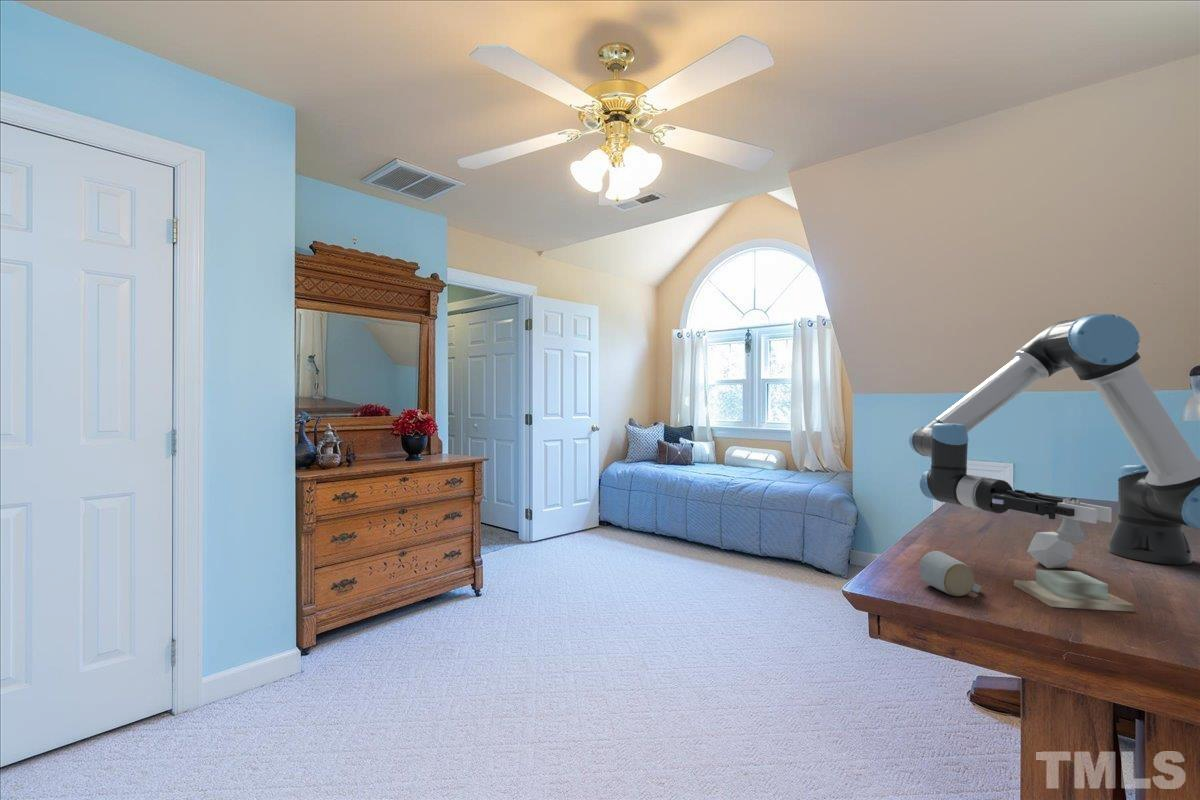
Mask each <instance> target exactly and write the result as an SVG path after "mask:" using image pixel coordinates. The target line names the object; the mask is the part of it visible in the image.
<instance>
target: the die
mask: <svg viewBox="0 0 1200 800" xmlns="http://www.w3.org/2000/svg"><path fill="white" fill-rule="evenodd" d="M1056 535H1058V532H1057V531H1056V532H1055V531H1040V532H1039V531H1038V532H1035V534H1034V536H1033V539H1032V540H1031V542H1030V545H1029V546H1028V549H1027V551H1026V552H1027V553H1028V554H1029V555H1031V557H1032V558H1034V559H1035V561H1037V562H1038V563H1039V564H1041V565H1042V566H1043V567H1045V568H1047V569H1057V568H1059V569H1060V568H1066V567H1067V566H1068V564H1069V563H1070V562H1071V560H1072V558H1073V556H1074V553H1075V550H1076V547H1075V546H1074V545H1073V544H1072V542H1067V541H1063V540H1060V539H1058V537H1057V536H1056Z"/></svg>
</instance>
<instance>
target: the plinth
mask: <svg viewBox="0 0 1200 800" xmlns="http://www.w3.org/2000/svg"><path fill="white" fill-rule="evenodd" d="M1013 586H1014V587H1015V588H1017V589H1019V590H1021V591H1022V592H1024V593H1026V594H1027V595H1029V596H1031V597H1032V598H1035V599H1036V600H1038V601H1040V602H1042V603H1044V604H1045V605H1047V606H1049V607H1050V608H1064V609H1066V608H1067V609H1081V610H1084V609H1085V610H1098V611H1099V610H1103V611H1115V612H1116V611H1119V612H1135V605H1134V604H1133V603H1131V602H1128V601H1126V600H1125V599H1122V598H1120V597H1118V596H1115V595H1113V594H1111V593H1109V584H1108V583H1106V582H1103V581H1101V580H1099V579H1096V578H1094V577H1093V576H1089V575H1088V574H1086V573H1083V572H1081V571H1075V570H1074V571H1072V570H1055V569H1054V570H1053V569H1035V580H1019V579H1013Z"/></svg>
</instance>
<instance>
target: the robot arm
mask: <svg viewBox="0 0 1200 800" xmlns="http://www.w3.org/2000/svg"><path fill="white" fill-rule="evenodd" d="M1140 342H1141V337H1140V334H1139V331H1138V329H1137V327H1136V326H1135V325H1134V324H1133V323H1132V322H1131V321H1129V320H1128V319H1127V318H1125V317H1123V316H1120V315H1117V314H1114V313H1113V314H1112V313H1094V314H1092V313H1091V314H1089V315H1088V314H1087V315H1085V316H1082V317H1076V318H1073V319H1067V320H1063V321H1058V322H1056V323H1054V324H1052V325H1049V326H1048V327H1047V328H1045V329H1043V330H1042V331H1041V332H1039V333H1038V334H1037V335H1035V336H1034V337H1033V338H1031V339H1030V340H1029V341H1028V342H1026V343H1025V344H1024V345H1023V346H1021V347H1020V348H1019V349H1018V350H1017V351H1015V352H1014V354H1013V359H1011V360H1010V361H1009V362H1007V363H1006V364H1005V365H1004V366H1003V367H1001V368H1000V369H998V370H997V371H996V372H994V373H993V374H992V375H991V376H989V377H988V378H987V379H985V380H984V381H983V382H982V383H980V384H979V385H978V386H977V387H976V386H975V388H973V389H972V390H971V391H970V392H969V393H967V394H966V395H965V396H963V397H962V398H961V399H960V400H958V401H957V402H956V403H954V404H953V405H952V406H950V407H949V408H947V410H945V411H944V412H943V413H941V414H940V415H939V416H937V417H936V418H935V419H934V420H932V421H930V422H929V423H928V424H926V426H921V427H918V428H916V429H914V430H913V431H912V432H910V435H909V438H908V444H909V446H910V448H911V450H913V452H915V453H917V454H918V455H920V456H923V457H929V458H931V460H930V461H931V464H930V469H928V470H926V471H924V472H923V473H922V475H921V478H920V479H919V489H920V491H921V493H922V494H923V496H925V497H926V498H928V499H932V500H935V501H938V502H939V503H940V502H941V503H946V504H952V505H957V506H962V507H967V508H970V509H971V511H974V512H975V511H977V510H981V511H984V512H988V513H989V512H990V513H994V514H1003V513H1006V512H1008V510H1013V511H1018V512H1023V513H1029V514H1034V515H1039V516H1042V517H1043V516H1046V515H1047V516H1048V519H1049V520H1055V519H1056V516H1057V517H1059V518H1062V519H1063V518H1068V519H1073V520H1078V521H1080V522H1084V523H1090V524H1097V523H1098V521H1099V522H1104V523H1112V516H1113V515H1112V513H1113V512H1112V511H1113V509H1112V507H1107V506H1103V505H1096V504H1091V503H1090V504H1089V503H1085V502H1080V504H1081V505H1082V506H1077V505H1071V504H1066V503H1062V502H1063V499H1067V498H1064V497H1060V496H1059V497H1058V496H1055V495H1054V496H1053V495H1048V494H1043V493H1039V492H1028V491H1025V490H1022V489H1013V487H1012V486H1011V484H1010V483H1009V482H1008V481H1006V480H1003V479H997V478H992V477H991V478H990V477H986V476H980V475H979V476H978V475H974V474H968V448H969V447H968V442H969V437H968V436H969V435H968V434H969V432H971V431H972V430H974V428H976V427H977V426H979V425H980V424H981V423H983V422H984V421H985V420H987V419H988V418H989V417H991V416H992V415H994V413H996V412H997V411H999V410H1000V409H1001V408H1002V407H1004V406H1005V405H1007V404H1008V403H1009V402H1010V401H1013V399H1015V398H1016V397H1017V396H1019V395H1020V394H1021V393H1022V392H1024V391H1025V390H1027V389H1028V388H1030V386H1032V385H1033V384H1035V383H1036V382H1037V381H1039V380H1040V381H1041V380H1042V381H1044V380H1047V379H1048V378H1049V377H1052V376H1053V375H1054V374H1056V373H1057V372H1060V371H1062V370H1064V369H1069V368H1071V369H1072V370H1073V372H1074V373H1075V374H1076V376H1077V377H1078V379H1079V380H1080V381H1081V382H1083V383H1088V384H1091V385H1092V386H1093V388H1094V389H1095V391H1096V392H1097V394H1098V395H1099V397H1100V398H1101V399H1102V401H1103V403H1104V404H1105V406H1106V408H1107V409H1108V410H1109V413H1111V415H1112V417H1113V418H1114V420H1115V421H1116V424H1117V425H1118V426H1119V427H1120V428H1121V430H1122V432H1123V433H1124V436H1125V437H1126V438H1127V439H1128V441H1129V443H1130V444H1131V446H1132V447H1133V448H1134V450H1135V452H1136V453H1137V455H1138V456H1139V458H1140V460H1141V462H1142V463H1143V464H1125V465H1122V466H1121V467H1120V468H1119V471H1118V476H1117V481H1118V488H1117V489H1118V494H1117V495H1118V498H1117V505H1118V506H1117V507H1118V508H1117V509H1118V511H1117V515H1118V516H1117V523H1116V526H1115V528H1114V529H1113V531H1112V534H1111V536H1110V538H1109V541H1108V548H1107V549H1108V550H1107V551H1108V552H1109V553H1110V554H1114V555H1117V556H1120V557H1123V558H1127V559H1131V560H1137V561H1141V562H1148V563H1154V564H1163V565H1174V566H1175V565H1176V566H1177V565H1178V566H1179V565H1181V566H1182V565H1183V566H1184V565H1191V564H1192V563H1193V552H1192V550H1191V548H1190V545H1189V542H1188V540H1187V537H1186V536H1185V532H1184V530H1183V526H1187V527H1190V528H1192V529H1196V530H1200V458H1199V457H1197V456H1196V454H1195V453H1194V451H1193V450H1192V448H1191V447H1190V445H1189V444H1188V442H1187V441H1186V439H1185V437H1184V436H1183V435H1182V433H1181V431H1180V430H1179V428H1178V427H1177V426H1176V424H1175V422H1174V421H1173V419H1172V418H1171V416H1170V414H1169V413H1168V412H1167V410H1166V409H1165V407H1164V406H1163V404H1162V403H1161V401H1160V400H1159V398H1158V397H1157V395H1156V394H1155V392H1154V390H1153V388H1151V386H1150V385H1149V383H1148V382H1147V380H1146V378H1145V377H1144V376H1143V374H1142V372H1141V371H1140V370H1139V368H1138V365H1139V363H1140V361H1141V359H1142V357H1141V355H1140V354H1139V352H1138V350H1139V347H1140V346H1139V343H1140ZM1069 499H1070V500H1071V501H1072V499H1075V501H1076V500H1078V499H1077V497H1072V498H1069Z"/></svg>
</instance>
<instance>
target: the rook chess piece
mask: <svg viewBox="0 0 1200 800" xmlns="http://www.w3.org/2000/svg"><path fill="white" fill-rule="evenodd" d="M1070 499H1071V498H1066V499H1063V502H1062V503H1066V504H1071V505H1077V506H1082V505H1081V504H1080V503H1081V500H1079V499H1077V500H1076V501H1075V499H1072V501H1071V500H1070ZM1056 533H1058V535H1056V536H1057V537H1058V539H1060V540H1063V541H1067V542H1070V543H1076V544H1077V543H1078V544H1079V543H1081V544H1082V543H1084V542H1086V538H1085V536H1086V535H1085V531H1083V528H1082V527H1081V521H1078V520H1073V519H1068V518H1063V517H1062V521H1061V524H1060V526H1059V528H1058V529H1057V530H1056Z"/></svg>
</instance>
